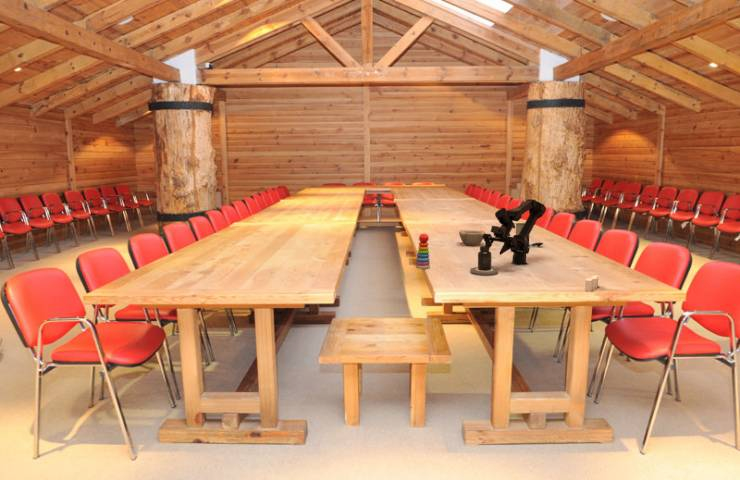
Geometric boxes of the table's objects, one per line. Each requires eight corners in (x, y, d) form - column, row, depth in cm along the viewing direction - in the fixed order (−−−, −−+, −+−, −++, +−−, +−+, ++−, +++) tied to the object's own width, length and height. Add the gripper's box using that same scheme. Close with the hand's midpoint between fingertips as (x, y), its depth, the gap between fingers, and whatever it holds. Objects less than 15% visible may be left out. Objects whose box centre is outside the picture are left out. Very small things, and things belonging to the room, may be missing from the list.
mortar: (484, 243, 368) (484, 229, 367) (485, 247, 352) (486, 233, 350) (458, 242, 371) (458, 229, 369) (459, 247, 354) (459, 233, 353)
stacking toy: (418, 270, 288) (418, 234, 285) (413, 266, 295) (413, 232, 292) (432, 269, 290) (432, 234, 287) (426, 266, 297) (427, 232, 294)
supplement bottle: (493, 268, 281) (493, 245, 279) (488, 271, 275) (489, 247, 273) (480, 267, 284) (480, 244, 283) (475, 270, 279) (476, 246, 277)
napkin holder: (594, 285, 255) (595, 273, 254) (612, 290, 244) (613, 278, 244) (567, 288, 250) (568, 275, 249) (585, 294, 240) (586, 281, 239)
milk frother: (512, 245, 359) (512, 223, 356) (533, 244, 363) (534, 221, 361) (524, 249, 345) (525, 225, 343) (545, 247, 350) (546, 224, 347)
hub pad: (490, 269, 289) (490, 265, 288) (503, 274, 275) (503, 271, 275) (465, 270, 285) (465, 267, 285) (477, 276, 272) (477, 273, 271)
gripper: (484, 218, 291) (471, 241, 285) (514, 221, 277) (501, 245, 272) (492, 231, 297) (480, 254, 292) (522, 235, 283) (510, 259, 278)
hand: (492, 253), depth 283 cm, fingers open, 9 cm apart
